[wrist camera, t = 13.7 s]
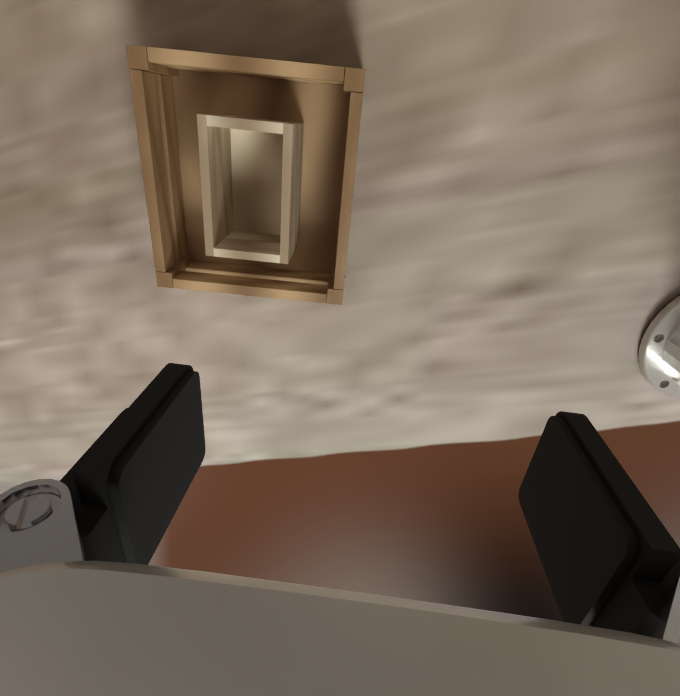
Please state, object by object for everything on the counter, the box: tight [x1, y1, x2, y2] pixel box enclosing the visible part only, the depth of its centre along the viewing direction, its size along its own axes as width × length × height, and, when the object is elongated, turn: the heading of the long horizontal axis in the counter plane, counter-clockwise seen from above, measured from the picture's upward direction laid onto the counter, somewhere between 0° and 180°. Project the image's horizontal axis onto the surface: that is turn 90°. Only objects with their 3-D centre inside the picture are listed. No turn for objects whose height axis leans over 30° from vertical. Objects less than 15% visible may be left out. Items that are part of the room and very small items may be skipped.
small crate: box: [197, 114, 304, 264], centre depth 31 cm, size 6×9×6 cm, turn 175°
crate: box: [126, 45, 365, 305], centre depth 32 cm, size 14×16×6 cm
